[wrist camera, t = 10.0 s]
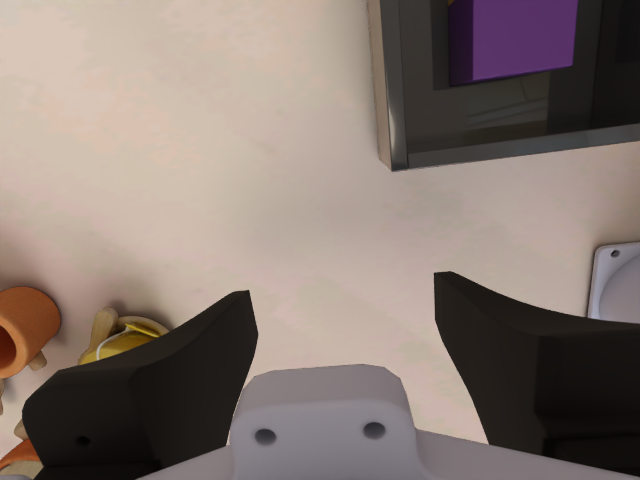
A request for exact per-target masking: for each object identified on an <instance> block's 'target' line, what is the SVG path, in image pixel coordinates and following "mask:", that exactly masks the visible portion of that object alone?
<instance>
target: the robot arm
mask: <svg viewBox="0 0 640 480" xmlns="http://www.w3.org/2000/svg"><path fill="white" fill-rule="evenodd" d="M614 250H615V253H614V254H613V255H611V253H612V252H613V251H614ZM434 296H435V321H436V324H437V327H438V330H439V333H440V336H441V339H442V341H443V343H444V345H445V347H446V349H447V351H448V353H449V355H450V357H451V359H452V361H453V363H454V365H455V367H456V368H457V370H458V372H459V374H460V376H461V378H462V380H463V382H464V384H465V386H466V387H467V390H468V392H469V394H470V396H471V398H472V400H473V403H474V406H475V408H476V411H477V413H478V416H479V418H480V421H481V424H482V426H483V429H484V432H485V434H486V437H487V440H488V443H489V445H488V444H484V443H479V442H474V441H470V440H465V439H460V438H456V437H451V436H447V435H442V434H437V433H433V432H428V431H423V430H419V429H416V428H415V426H414V422H413V418H412V414H411V410H410V406H409V402H408V398H407V394H406V392H405V390H404V387H403V385H402V382H401V380H400V378H399V377H397V376H396V375H394V374H393V373H392V372H390V371H389V370H387V369H386V368H384V367H380V366H373V365H366V364H355V365H342V366H328V367H315V368H301V369H288V370H274V371H270V372H267V373H264V374H261V375H258V376H254V378H253V379H252V380H251V381H250V382H249V383H248V384H247V385H246V387H245V388H244V389H243V391H242V388H243V385H244V383H245V380H246V377H247V375H248V372H249V369H250V366H251V364H252V361H253V358H254V354H255V350H256V345H257V339H258V330H257V325H256V321H255V316H254V311H253V306H252V302H251V297H250V292H249V290H245V291H235V292H232V293H230V294H228V295H227V296H225V297H224V298H222V299H221V300H219V301H218V302H216V303H215V304H213V305H212V306H210V307H209V308H207V309H206V310H204V311H203V312H201V313H200V314H198V315H197V316H195V317H194V318H192V319H190V320H189V321H187V322H186V323H184V324H182V325H181V326H179V327H177V328H175V329H174V330H172V331H170V332H168V333H166V334H164V335H162V336H160V337H158V338H156V339H154V340H151V341H149V342H147V343H144V344H142V345H139V346H137V347H135V348H132V349H130V350H127V351H124V352H121V353H119V354H116V355H113V356H110V357H107V358H103V359H100V360H97V361H93V362H90V363H86V364H82V365H78V366H74V367H70V368H66V369H62V370H59V371H57V372H56V373H55V374H54V375H53V376H52V377H50V378H49V379H48V380H47V381H46V382H45V383H44V384H43V385H42V386H41V387H39V388H38V389H37V390H36V391H35V392H34V393H33V394H32V395H31V396H30V397H29V398H28V399H27V400H26V402H25V404H24V407H23V410H22V422H23V425H24V428H25V431H26V434H27V436H28V438H29V439H30V441H31V443H32V445H33V447H34V449H35V451H36V453H37V455H38V457H39V459H40V461H41V463H42V465H43V466H44V467H43V468H42V469H41V470H40V472H39V473H38V474H37V475H36V476H35V478H34V479H32V478H30V477H28V476H26V475H21V474H13V475H0V480H640V242H634V243H624V244H614V245H605V246H601V247H599V248H598V249H597V250H596V252H595V259H594V267H593V275H592V283H591V291H590V300H589V308H588V316H587V318H586V317H580V316H574V315H569V314H564V313H560V312H556V311H551V310H547V309H543V308H539V307H536V306H533V305H529V304H526V303H523V302H520V301H517V300H514V299H512V298H509V297H507V296H504V295H502V294H499V293H497V292H494V291H492V290H490V289H488V288H486V287H483V286H481V285H479V284H477V283H475V282H473V281H471V280H469V279H467V278H465V277H463V276H461V275H459V274H456V273H454V272H451V271H448V272H437V273H434ZM241 391H242V394H241ZM240 394H241V397H240V399H239V396H240ZM238 399H239V402H238ZM237 402H238V405H237ZM236 405H237V408H236ZM235 408H236V411H235ZM234 411H235V414H234ZM233 414H234V417H233ZM232 418H233V420H232ZM231 422H232V423H231ZM230 426H231V427H230ZM229 430H230V441H229V443H230V445H227V446H226V443H227V438H228V434H229Z"/></svg>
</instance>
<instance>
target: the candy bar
mask: <svg viewBox="0 0 640 480" xmlns="http://www.w3.org/2000/svg"><path fill="white" fill-rule="evenodd" d="M448 7H449V61H450V86H459V85H465V84H472V83H479V82H486V81H493V80H500V79H506V78H513V77H520V76H527V75H533V74H537V73H542V72H546V71H551V70H555V69H560V68H564V67H569V66H571V65H572V64H573V54H574V43H575V31H576V19H577V7H578V0H448Z"/></svg>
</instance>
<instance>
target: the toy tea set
mask: <svg viewBox="0 0 640 480" xmlns="http://www.w3.org/2000/svg"><path fill="white" fill-rule="evenodd" d="M59 326H60V314H59V311H58V309H57V307H56V305H55V304H54V303H53V301H52V300H51V299H50V298H49V297H48V296H46V295H45V294H43V293H42V292H40V291H38V290H36V289H33V288H29V287H14V288H10V289H7V290H4V291H1V292H0V416H1V415H2V414H3V405H2V401H1V396H2V394H3V392H4V378H7V377H10V376H13V375H15V374H17V373H19V372H20V371H21V370H22V369H23V368H24V367H25V366H26V365H27V364H28V365H29V366H30V368H31V369H32V370H34V371H36V370H39V369H41V368H43V367H44V366H46V364H47V361H46V359H45V357H44V355H43V353H42V351H41V349H42V348H43V347H44V346H45V345H46V344H47V343H48V342H49V341H50V339H51V338H52V337H53V336H54V335H55V334H56V333H57V331H58V329H59ZM168 332H170V331H169V330H168V329H166V328H165V327H164V326H162V325H161V324H159V323H157V322H155V321H153V320H150V319H147V318H144V317H138V316H125V317H120V318H118V313H117V311H116V310H115V309H113V308H110V307H104V308H103V309H102V310H101V311H99V312H98V313H97V314H96V317H95V320H94V324H93V329H92V335H91V342H90V346H89V348H88V350H86V351H85V352H84V353H83V354H82V355H81V356H80V358H79V359H78V365H82V364H86V363H90V362H93V361H97V360H100V359H103V358H107V357H110V356H113V355H116V354H119V353H121V352H124V351H127V350H130V349H132V348H135V347H137V346H139V345H142V344H144V343H147V342H149V341H151V340H154V339H156V338H158V337H160V336H162V335H164V334H166V333H168ZM14 434H15V435H16V436H18V437H19V438H21V439H23V442H21V443H20V444H19V445H18V446H16V447H15V448H14V449H13V450H11V451H10V452H9V453H8V454H7V455H5V456H4V457H3V458H2V459H1V460H0V475H13V474H21V475H26V476H28V477H30V478H32V479H34V478H35V476H36V475H37V474H38V473H39V472H40V470H41V469H42V468H43V467H44V466H43V465H42V463H41V461H40V459H39V457H38V455H37V453H36V451H35V449H34V447H33V445H32V443H31V441H30V439H29V438H28V436H27V434H26V431H25V428H24V425H23V422H22V419H21V420H20V422H19V423H18V424H17V426H16V428H15V429H14Z"/></svg>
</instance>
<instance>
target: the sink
mask: <svg viewBox="0 0 640 480" xmlns="http://www.w3.org/2000/svg"><path fill="white" fill-rule="evenodd" d="M367 10H368V23H369V35H370V48H371V60H372V73H373V86H374V98H375V111H376V123H377V136H378V148H379V159H380V161H381V162H382V163H383V164H384V165H385V166H386V167H387V168H388V169H389V170H390V171H391V172H399V171H406V170H414V169H422V168H430V167H438V166H446V165H454V164H462V163H470V162H477V161H485V160H493V159H501V158H509V157H517V156H525V155H533V154H540V153H548V152H556V151H564V150H572V149H580V148H588V147H595V146H603V145H611V144H619V143H627V142H635V141H640V0H578V7H577V19H576V31H575V43H574V54H573V64H572V65H571V66H569V67H564V68H560V69H555V70H551V71H546V72H542V73H537V74H533V75H527V76H520V77H513V78H506V79H500V80H493V81H486V82H479V83H472V84H465V85H459V86H450V61H449V7H448V0H367Z"/></svg>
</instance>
